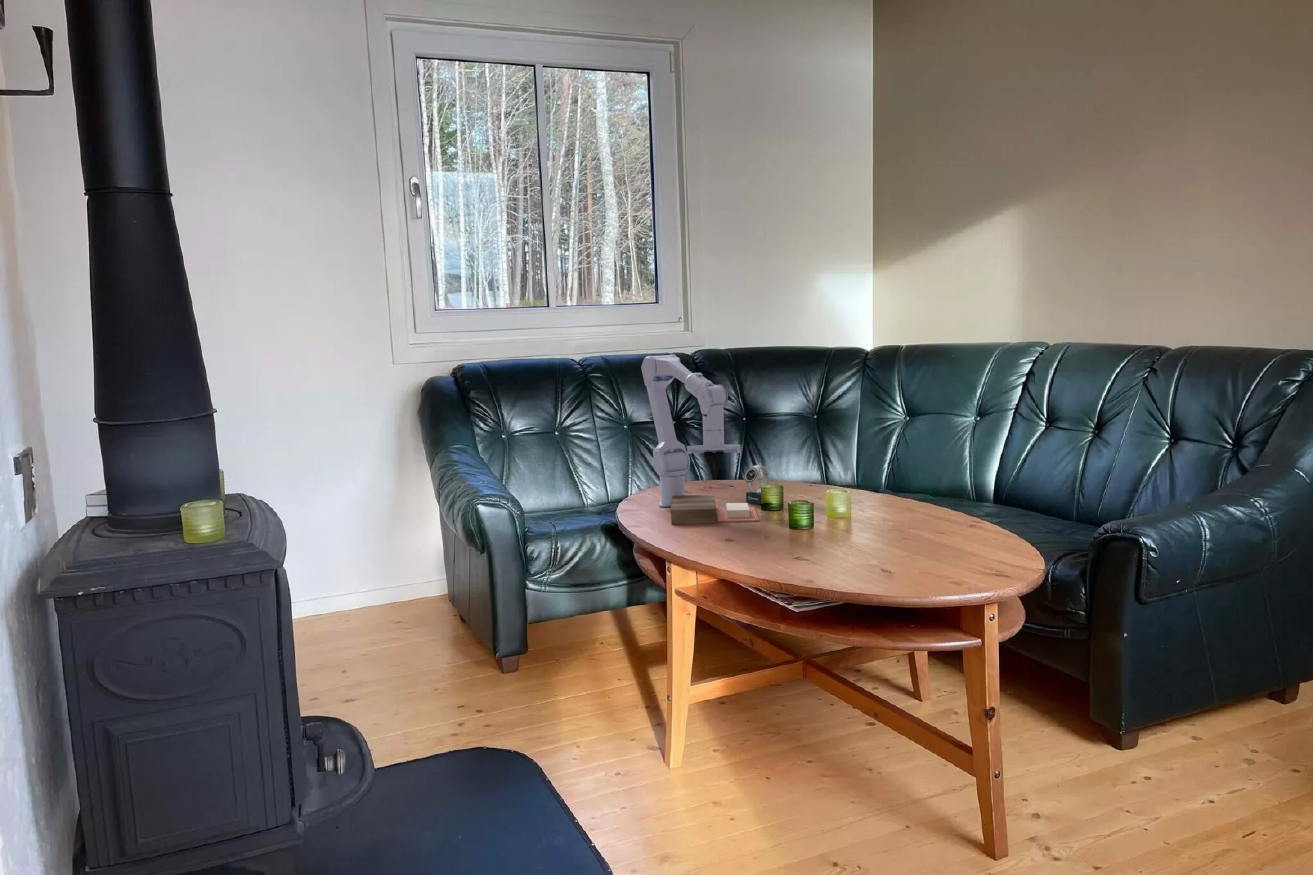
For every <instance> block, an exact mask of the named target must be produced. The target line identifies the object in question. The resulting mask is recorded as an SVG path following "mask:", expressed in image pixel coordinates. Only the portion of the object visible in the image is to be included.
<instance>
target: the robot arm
mask: <svg viewBox="0 0 1313 875" xmlns="http://www.w3.org/2000/svg"><path fill="white" fill-rule="evenodd" d="M640 368H641V372H642V374H641V375H642V378H643V383H644V385H645V387H646V390H647V394H648V399H649V404H650V409H651V413H652V417H653V422H654V427H655V431H656V432H655V433H656V436H657V440H658V444H657V446H656V447H655V448H654V449H653V451H652V457H653V462H652V464H653V468H654V470H655V473H657V476H659V488H660V489H659V491H660V492H659V493H660V499H659V502H658V503H659V504H658V507H661V508H662V507H663V508H664V507H671V503H672V496H681V495H686V490H685V486H686V484H685V474H687V471H688V470H689V468H690V467H691V466H690V465H691V458H690V456H689V455H691V454H703V455H704V458H705V461H706V463H707V465H708V467H709V471H710V474H711V480H718V474H719V469H720V467H721V464H722V461H723V459H724V457H725V456H724V455H725V453H738V454H739V453H742V452H741V444H726V443H725V427H724V425H725V423H724V422H725V421H724V418H725V416H724V406H725V405H726V404H727V402H728V398H729V397H728V396H729V394H728V391H727V389H726V387H725V386H724V385H723V384H714V383H713V382H712V381H711V380H709V379H708V378H706V377H704V376H703V373H701V372H694V373H693V372H691V371H690V370H689V368H687V367H686V366H685V365H684V364H683V363H681V358H680V357H678V356H677V355H675V354H667V355H647V356H645V357H644V359H643V361H642V363H641V367H640ZM674 379H677V380H679V381H680V382H681V383H684V389H686V391H688V392H689V393H690V394H691V395H693V397H695V398H696V399H697V402H698V405H699V407H700V412H701V414H702V443H703V444H699V445H698V444H697V445H686V446H687V447H686V446H685V444H684V443H682V442H680V441H679V440H678V439H677V435H676V431H675V430H676V429H675V426H674V421H673V418H672V413H671V408H670V405H669V401H668V396H667V391H666V388H667V387H668V386H669V385H670V384H671V383H672V382H673V381H674Z"/></svg>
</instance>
